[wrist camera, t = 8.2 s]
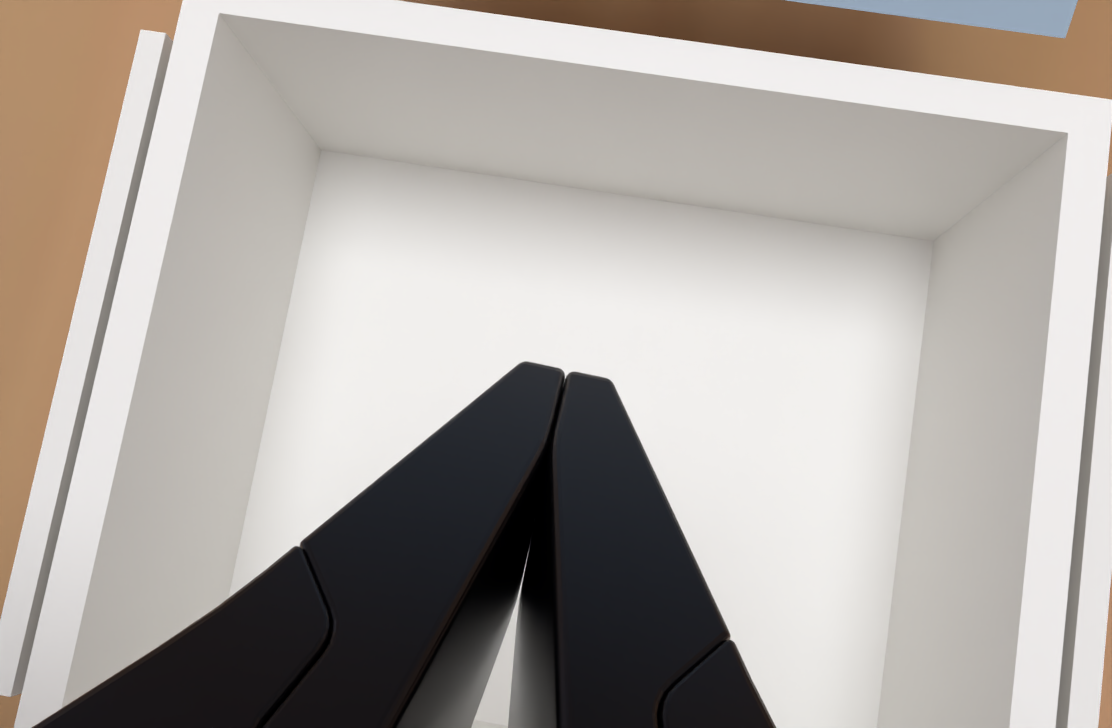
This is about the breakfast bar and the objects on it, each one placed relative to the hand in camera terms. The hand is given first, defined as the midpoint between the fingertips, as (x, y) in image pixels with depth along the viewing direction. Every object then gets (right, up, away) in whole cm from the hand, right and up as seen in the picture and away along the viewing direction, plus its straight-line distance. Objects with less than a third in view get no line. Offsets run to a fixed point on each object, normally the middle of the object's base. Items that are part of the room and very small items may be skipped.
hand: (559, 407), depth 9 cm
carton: (0, -1, +11) cm, 12 cm away
